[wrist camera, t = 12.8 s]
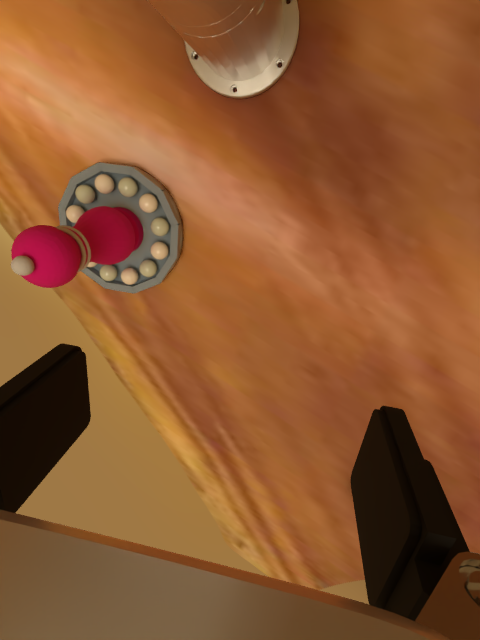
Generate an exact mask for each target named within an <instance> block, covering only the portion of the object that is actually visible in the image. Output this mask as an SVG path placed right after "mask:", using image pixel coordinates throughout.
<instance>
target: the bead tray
mask: <svg viewBox="0 0 480 640" xmlns="http://www.w3.org/2000/svg"><path fill="white" fill-rule="evenodd" d="M99 206H107V207H111V208H114V207H123V208H126V209H128V210H130V211H132V212H133V213H134V214H135V215H136V216H137V217H138V218H139V220H140V222H141V224H142V227H143V240H142V243H141V245H140V246H139V247H138V248H137V249H136V250H135V251H133V252H132V253H131V254H130V255H129V257H128V258H126V259H125V260H124V261H121V262H119V263H116V264H112V265H102V264H97V263H94V262H89V264H88V266H87V267H86V268H85V269H84V270H82V272H83V273H84V274H86V275H87V276H89V277H90V278H91V279H93V280H94V281H95V282H97V283H98V284H100V285H101V286H102V287H104V288H105V289H111V290H117V291H123V292H128V293H137V292H139V291H142V290H144V289H147V288H149V287H152V286H155V285H157V284H160V283H161V282H162V281H164V279H165V278H166V276H167V275H168V274H169V273H170V272H171V270H172V269H173V268H174V266H175V265H176V263H177V261H178V259H179V257H180V254H181V250H182V246H183V225H182V220H181V216H180V213H179V210H178V208H177V205H176V204H175V202H174V200H173V198H172V197H171V195H170V194H169V192H168V191H167V190H166V188H165V187H164V186H163V185H162V184H161V183H160V182H159V181H158V180H157V179H155V178H154V177H153V176H151V175H150V174H148V173H147V172H145V171H143V170H141V169H139V168H138V167H134V166H128V165H121V164H112V163H104V162H99V163H96V164H95V165H93V166H91V167H89V168H87V169H86V170H84V171H82V172H80V173H78V174H77V175H75V176H73V177H72V178H71V179H70V181H69V184H68V186H67V188H66V190H65V192H64V195H63V197H62V199H61V201H60V204H59V207H58V210H59V219H60V226H61V225H65V226H70V227H73V226H75V224H76V222H77V220H78V219H79V217H80V216H81V215H82V214H84V213H85V212H86V211H88V210H90V209H92V208H95V207H99Z"/></svg>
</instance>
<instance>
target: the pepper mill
mask: <svg viewBox="0 0 480 640" xmlns="http://www.w3.org/2000/svg"><path fill="white" fill-rule="evenodd" d="M142 240H143V227H142V224H141V222H140V220H139V218H138V217H137V216H136V215H135V214H134V213H133V212H132V211H130V210H128V209H126V208H123V207H114V208H111V207H107V206H99V207H95V208H92V209H90V210H88V211H86V212H85V213H84V214H82V215H81V216H80V217H79V219H78V220H77V222H76V224H75V226H73V227H70V226H65V225H61V226H57V227H52V226H47V225H38V226H34V227H30V228H28V229H26V230H24V231H22V232H21V233H20V234H19V235H18V236H17V237H16V239H15V240H14V243H13V246H12V250H11V251H12V262H11V267H12V270H13V271H14V272H15V273H16V274H18V275H21V276H22V277H23V278H24V279H26V280H27V281H29V282H30V283H33V284H34V285H37V286H40V287H46V288H52V287H58V286H61V285H64V284H66V283H68V282H69V281H71V280H72V279H73V278H74V277H75V276H76V274H77V273H78V272H79V271H82V270H84V269H85V268H86V267H87V266H88V264H89V262H94V263H97V264H102V265H112V264H116V263H119V262H121V261H124V260H125V259H126V258H128V257H129V255H130V254H131V253H132V252H133V251H135V250H136V249H137V248H138V247H139V246H140V245H141V243H142Z"/></svg>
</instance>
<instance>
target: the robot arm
mask: <svg viewBox="0 0 480 640" xmlns="http://www.w3.org/2000/svg"><path fill="white" fill-rule="evenodd" d="M147 1H148V2H149V3H150V4H151V5H152V6H153V7H154V8H155V9H156V10H157V11H158V12H159V13H160V14H161V15H162V17H163V18H164V19H165V20H166V21H167V22H168V23H169V24H170V25H171V26H172V27H173V28H174V30H175V31H176V32H177V33H178V34H179V35H180V36H181V37H182V38H183V39H184V43H185V48H186V52H187V55H188V58H189V60H190V63H191V65H192V67H193V68H194V70H195V72H196V74H197V75H198V76H199V77H200V79H201V80H202V81H203V82H204V83H205V84H206V85H207V86H208V87H209V88H211V89H212V90H214V91H215V92H217V93H218V94H221V95H223V96H225V97H229V98H235V99H243V98H250V97H253V96H257V95H259V94H261V93H263V92H264V91H266V90H268V89H269V88H270V87H271V86H273V85H274V84H275V83H276V82H277V81H278V80H279V79H280V77H281V76H282V75H283V74H284V72H285V71H286V69H287V67H288V66H289V64H290V62H291V60H292V57H293V54H294V52H295V49H296V45H297V40H298V34H299V9H298V3H297V0H291V3H290V4H287V3H286V1H287V0H147ZM196 55H198V56H199V57H198V59H197V60H195V56H196ZM279 63H281V64H282V67H281V68H278V64H279ZM234 88H237V92H236V93H234V92H233V90H234ZM90 417H91V414H90V402H89V391H88V377H87V365H86V355H85V353H84V352H82V350H81V348H80V347H78V346H73V345H67V344H60V345H58V346H56V347H55V348H54V349H52V350H51V351H49V352H48V353H47V354H45V355H44V356H42V357H41V358H40V359H38V360H37V361H36V362H34V363H33V364H32V365H30V366H29V367H27V368H26V369H24V370H23V371H22V372H21V373H19V374H18V375H16V376H15V377H13V378H12V379H11V380H9V381H8V382H7V383H5V384H4V385H2V386H1V387H0V640H480V554H478V553H472V552H470V551H469V549H468V547H467V544H466V542H465V540H464V537H463V535H462V533H461V531H460V528H459V526H458V524H457V521H456V519H455V517H454V514H453V512H452V510H451V507H450V505H449V503H448V501H447V498H446V496H445V494H444V491H443V489H442V487H441V484H440V482H439V480H438V478H437V475H436V473H435V471H434V468H433V466H432V465H431V463H430V462H429V461H428V460H424V458H423V456H422V453H421V451H420V449H419V446H418V444H417V441H416V439H415V436H414V434H413V432H412V429H411V427H410V424H409V422H408V420H407V417H406V415H405V412H404V411H403V410H402V409H398V408H393V407H388V406H382V407H381V408H380V410H378V409H375V410H374V411H373V413H372V416H371V419H370V422H369V425H368V428H367V431H366V433H365V436H364V439H363V442H362V445H361V448H360V451H359V454H358V456H357V459H356V462H355V465H354V468H353V471H352V474H351V489H352V495H353V502H354V509H355V515H356V522H357V529H358V535H359V542H360V549H361V555H362V562H363V568H364V575H365V582H366V588H367V595H368V601H369V604H370V605H368V604H365V603H362V602H358V601H355V600H351V599H348V598H344V597H341V596H337V595H333V594H330V593H326V592H323V591H319V590H315V589H312V588H308V587H305V586H301V585H297V584H293V583H290V582H286V581H282V580H278V579H274V578H270V577H266V576H262V575H259V574H255V573H251V572H247V571H243V570H239V569H235V568H231V567H228V566H224V565H220V564H216V563H212V562H208V561H204V560H200V559H196V558H193V557H189V556H184V555H180V554H176V553H173V552H169V551H165V550H161V549H157V548H153V547H149V546H145V545H141V544H137V543H133V542H129V541H125V540H121V539H117V538H113V537H109V536H105V535H101V534H97V533H93V532H89V531H85V530H81V529H77V528H73V527H69V526H65V525H61V524H57V523H52V522H49V521H44V520H40V519H36V518H32V517H28V516H24V515H20V514H16V513H15V512H16V511H17V510H18V509H19V508H20V507H21V505H22V504H23V503H24V502H25V501H26V500H27V498H28V497H29V496H30V495H31V494H32V492H33V491H34V490H35V489H36V488H37V486H38V485H39V484H40V483H41V482H42V480H43V479H44V478H45V477H46V475H47V474H48V473H49V472H50V471H51V470H52V468H53V467H54V466H55V465H56V464H57V462H58V461H59V460H60V459H61V458H62V456H63V455H64V454H65V453H66V452H67V450H68V449H69V448H70V447H71V446H72V444H73V443H74V442H75V441H76V440H77V438H78V437H79V436H80V435H81V433H82V432H83V431H84V430H85V428H86V427H87V426H88V424H89V422H90Z"/></svg>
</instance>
